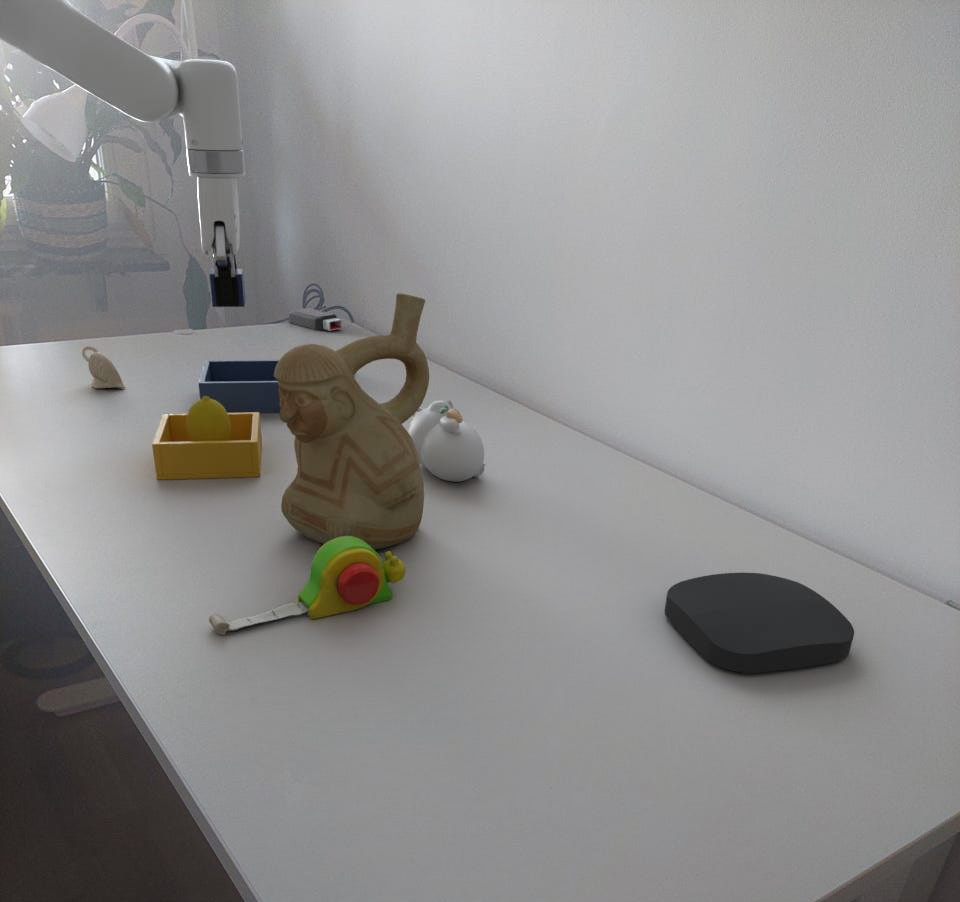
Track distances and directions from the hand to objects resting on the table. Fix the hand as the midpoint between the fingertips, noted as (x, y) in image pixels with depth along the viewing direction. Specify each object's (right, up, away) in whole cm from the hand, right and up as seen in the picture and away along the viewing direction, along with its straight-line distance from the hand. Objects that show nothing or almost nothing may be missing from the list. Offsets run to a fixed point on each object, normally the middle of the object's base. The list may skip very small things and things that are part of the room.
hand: (229, 301), depth 142 cm
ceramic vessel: (+24, -38, -33) cm, 55 cm away
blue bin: (+1, -12, +10) cm, 16 cm away
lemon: (+2, -26, -15) cm, 30 cm away
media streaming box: (+63, -49, -50) cm, 94 cm away
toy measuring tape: (+21, -47, -49) cm, 71 cm away
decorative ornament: (-24, -9, +15) cm, 29 cm away
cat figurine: (+32, -28, -15) cm, 45 cm away
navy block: (0, 0, 0) cm, 0 cm away
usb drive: (+3, +15, +57) cm, 59 cm away
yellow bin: (+2, -26, -15) cm, 30 cm away
